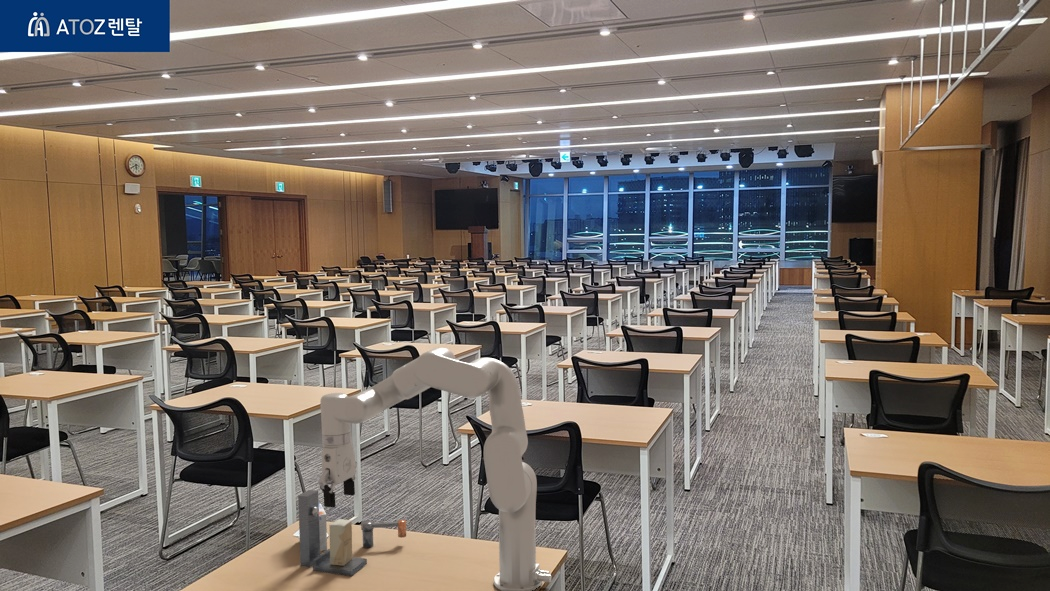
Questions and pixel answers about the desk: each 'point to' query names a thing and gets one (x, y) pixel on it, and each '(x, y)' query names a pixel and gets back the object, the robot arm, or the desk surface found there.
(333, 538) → the box
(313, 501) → the press
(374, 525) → the lever
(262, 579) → the desk surface
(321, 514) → the light bulb box
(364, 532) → the lever post
